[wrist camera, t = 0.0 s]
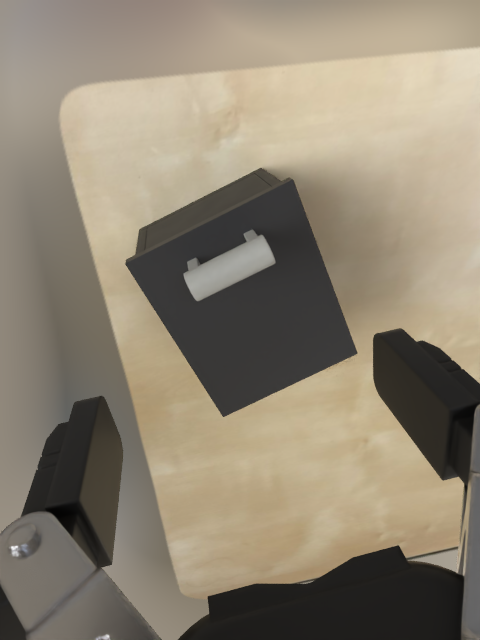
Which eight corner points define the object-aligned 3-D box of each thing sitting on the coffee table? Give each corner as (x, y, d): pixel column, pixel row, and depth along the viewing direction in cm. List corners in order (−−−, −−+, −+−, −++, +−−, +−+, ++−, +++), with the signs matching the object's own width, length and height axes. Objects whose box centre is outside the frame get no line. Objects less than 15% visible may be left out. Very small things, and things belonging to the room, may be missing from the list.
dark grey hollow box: (138, 229, 36) (132, 269, 28) (261, 167, 36) (293, 188, 27) (209, 348, 43) (221, 410, 34) (313, 297, 42) (353, 348, 33)
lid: (125, 259, 27) (119, 290, 23) (289, 177, 27) (315, 192, 22) (221, 410, 34) (231, 457, 30) (353, 348, 33) (383, 386, 29)
